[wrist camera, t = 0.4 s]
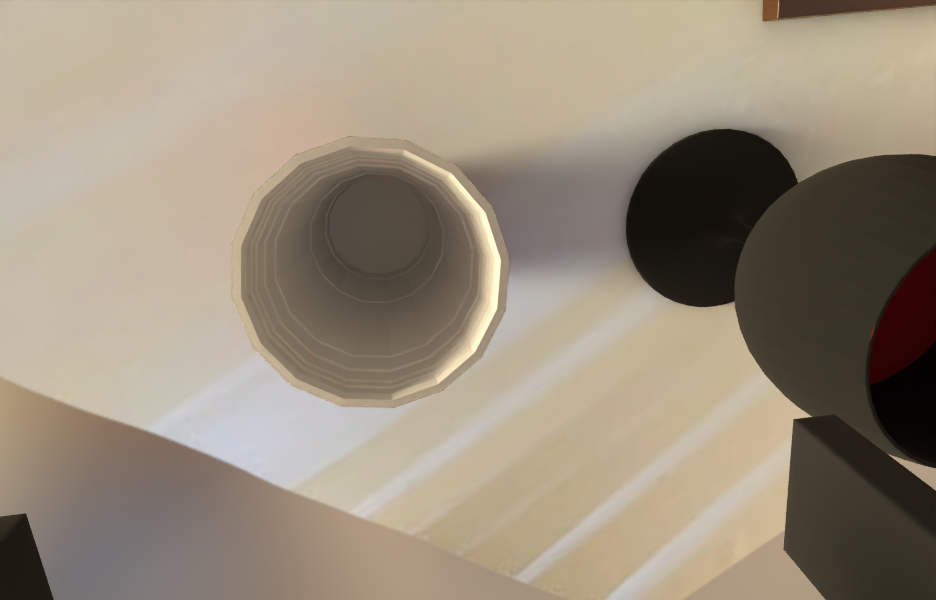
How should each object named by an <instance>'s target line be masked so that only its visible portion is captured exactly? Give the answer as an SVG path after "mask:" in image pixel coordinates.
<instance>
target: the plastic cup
mask: <svg viewBox="0 0 936 600" xmlns="http://www.w3.org/2000/svg"><path fill="white" fill-rule="evenodd" d="M509 262H510V258H509V255H508V252H507V249H506V246H505V243H504V240H503V237H502V234H501V230H500V227H499V224H498V221H497V218H496V215H495V212H494V209H493V207H492V206H491V205H490V204H489V202H488V201H487V200H486V199H485V198H484V197H483V195H482V194H481V193H480V192H479V191H478V190H477V188H476V187H475V186H474V185H473V184H472V183H471V181H470V180H469V179H468V178H467V177H466V176H465V174H464V173H463V172H462V171H461V170H460V169H459V167H458V166H456V165H454V164H452V163H450V162H448V161H446V160H444V159H442V158H440V157H438V156H436V155H434V154H432V153H430V152H428V151H427V150H425V149H423V148H421V147H419V146H417V145H415V144H413V143H411V142H409V141H407V140H393V139H379V138H365V137H351V136H349V137H346V138H343V139H340V140H337V141H335V142H332V143H329V144H326V145H323V146H320V147H317V148H314V149H311V150H308V151H306V152H303V153H300V154H297V155H295V156H294V157H293V158H291V159H290V160H289V161H288V162H287V163H286V164H285V165H284V166H283V167H282V168H281V169H280V170H278V171H277V172H276V173H275V174H274V175H273V176H272V177H271V178H270V179H269V180H268V181H266V182H265V183H264V184H263V185H262V186H261V187H260V188H259V189H258V190H257V191H256V192H254V194H253V196H252V198H251V201H250V203H249V205H248V207H247V210H246V212H245V214H244V217H243V219H242V221H241V224H240V226H239V228H238V230H237V233H236V235H235V237H234V240H233V242H232V300H233V302H234V305H235V307H236V309H237V312H238V314H239V316H240V319H241V321H242V323H243V325H244V328H245V330H246V332H247V335H248V337H249V339H250V342H251V344H252V346H253V348H254V349H255V350H256V351H257V352H258V353H259V354H260V355H261V356H262V357H263V358H264V359H265V360H266V361H267V362H268V363H269V364H270V365H271V366H272V367H273V368H274V369H275V370H276V371H277V372H278V373H279V374H280V375H281V376H282V377H283V378H284V379H285V380H286V381H288V382H289V383H290V384H291V385H292V386H294V387H296V388H298V389H301V390H303V391H306V392H308V393H310V394H313V395H315V396H317V397H320V398H322V399H325V400H327V401H329V402H332V403H334V404H337V405H339V406H346V407H379V408H395V407H398V406H401V405H403V404H406V403H409V402H412V401H415V400H418V399H421V398H423V397H426V396H429V395H432V394H435V393H438V392H440V391H443V390H444V389H445V388H446V387H448V386H449V385H450V384H451V383H452V382H453V381H455V380H456V379H457V378H458V377H459V376H460V375H461V374H463V373H464V372H465V371H466V370H467V369H468V368H470V367H471V366H472V365H473V364H474V363H475V362H477V361H478V360H479V359H480V358H481V357H482V356H483V354H484V352H485V350H486V348H487V346H488V344H489V342H490V340H491V338H492V336H493V334H494V332H495V330H496V328H497V326H498V324H499V323H500V321H501V319H502V317H503V315H504V313H505V310H506V298H507V286H508V274H509Z"/></svg>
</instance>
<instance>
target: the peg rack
mask: <svg viewBox="0 0 936 600" xmlns="http://www.w3.org/2000/svg"><path fill="white" fill-rule="evenodd" d="M925 6H936V0H763V21H771V20H782V19H793V18H804V17H815V16H826V15H837V14H848V13H859V12H870V11H881V10H892V9H903V8H914V7H925Z"/></svg>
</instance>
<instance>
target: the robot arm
mask: <svg viewBox="0 0 936 600" xmlns="http://www.w3.org/2000/svg"><path fill="white" fill-rule="evenodd" d="M784 550H785V551H786V553H787V554H788V555H789V556H790V557H791V559H792V560H793V561H794V562H795V563H796V565H797V566H798V567H799V568H800V569H801V571H802V572H803V573H804V574H805V575H806V577H807V578H808V579H809V580H810V581H811V583H812V584H813V585H814V586H815V587H816V588H817V590H818V591H819V592H820V593H821V595H822V596H823V597H824V598H825V599H826V600H936V491H935V490H934V489H933V488H932V487H930V486H929V485H927V484H926V483H925V482H924V481H922V480H921V479H920V478H918V477H917V476H916V475H914V474H913V473H912V472H910V471H909V470H908V469H906V468H905V467H904V466H902V465H901V464H900V463H898V462H897V461H896V460H894V459H893V458H892V457H890V456H889V455H888V454H886V453H885V452H884V451H883V450H881V449H880V448H879V447H877V446H876V445H875V444H873V443H872V442H871V441H869V440H868V439H867V438H865V437H864V436H863V435H861V434H860V433H859V432H857V431H856V430H855V429H853V428H852V427H851V426H849V425H848V424H847V423H845V422H844V421H843V420H841V419H840V418H839V417H838V416H836V415H835V414H833V415H825V416H817V417H808V418H800V419H794V420H793V433H792V446H791V459H790V472H789V485H788V498H787V511H786V524H785V538H784ZM0 600H53V596H52V593H51V590H50V587H49V584H48V581H47V578H46V575H45V572H44V568H43V565H42V562H41V559H40V556H39V553H38V550H37V547H36V544H35V540H34V537H33V534H32V531H31V528H30V525H29V522H28V518H27V515H26V514H19V515H10V516H2V517H0Z"/></svg>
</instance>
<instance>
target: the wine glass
mask: <svg viewBox="0 0 936 600" xmlns="http://www.w3.org/2000/svg"><path fill="white" fill-rule="evenodd" d="M626 235H627V244H628V248H629V252H630V255H631V258H632V260H633V263H634V265H635V267H636V269H637V270H638V272H639V273H640V275H641V276H642V278H643V279H644V280H645V281H646V282H647V283H648V284H649V285H650V286H651V287H652V288H653V289H654V290H656V291H657V292H658V293H660V294H661V295H663V296H664V297H666V298H668V299H670V300H672V301H674V302H677V303H681V304H684V305H688V306H696V307H710V306H718V305H723V304H727V303H730V302H733V301H735V309H736V313H737V318H738V322H739V326H740V330H741V332H742V335H743V337H744V339H745V342H746V344H747V347H748V349H749V351H750V353H751V354H752V356H753V357H754V359H755V360H756V362H757V363H758V365H759V366H760V368H761V369H762V371H763V372H764V374H765V375H766V376H767V377H768V378H769V379H770V380H771V382H772V383H773V384H774V385H775V386H776V387H777V388H778V389H779V390H780V391H781V392H782V393H783V394H784V395H785V396H786V397H787V398H788V399H789V400H790V401H792V402H793V403H794V404H795V405H796V406H798V407H799V408H801V409H802V410H803V411H805V412H806V413H808V414H809V415H811V416H812V417H817V416H825V415H833V414H835V415H836V416H838V417H839V418H840V419H841V420H843V421H844V422H845V423H847V424H848V425H849V426H851V427H852V428H853V429H855V430H856V431H857V432H859V433H860V434H861V435H863V436H864V437H865V438H867V439H868V440H869V441H871V442H872V443H873V444H875V445H876V446H877V447H879V448H880V449H881V450H883V451H884V452H885V453H887V454H890V455H892V456H895V457H898V458H901V459H904V460H908V461H911V462H914V463H917V464H921V465H924V466H928V467H932V468H936V156H930V155H921V154H903V155H881V156H874V157H868V158H863V159H857V160H852V161H848V162H845V163H842V164H839V165H836V166H833V167H831V168H828V169H825V170H823V171H820V172H818V173H816V174H814V175H813V176H811V177H809V178H807V179H805V180H803V181H801V182H800V183H798V182H797V179H796V176H795V173H794V171H793V170H792V168H791V166H790V164H789V162H788V161H787V160H786V158H785V157H784V156H783V155H782V153H781V152H780V151H779V150H778V149H777V148H775V147H774V146H773V145H772V144H770V143H769V142H768V141H766V140H764V139H762V138H760V137H759V136H757V135H754V134H751V133H748V132H744V131H738V130H732V129H714V130H709V131H703V132H699V133H696V134H694V135H691V136H688V137H686V138H684V139H682V140H680V141H678V142H677V143H675V144H673V145H672V146H670V147H669V148H668V149H666V150H665V151H664V152H662V153H661V154H660V155H659V156H658V157H657V158H656V159H655V160H654V161H653V162H652V163H651V164H650V166H649V167H648V168H647V170H646V171H645V172H644V174H643V175H642V177H641V179H640V180H639V182H638V184H637V186H636V188H635V190H634V193H633V195H632V198H631V201H630V204H629V209H628V213H627V223H626Z"/></svg>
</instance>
